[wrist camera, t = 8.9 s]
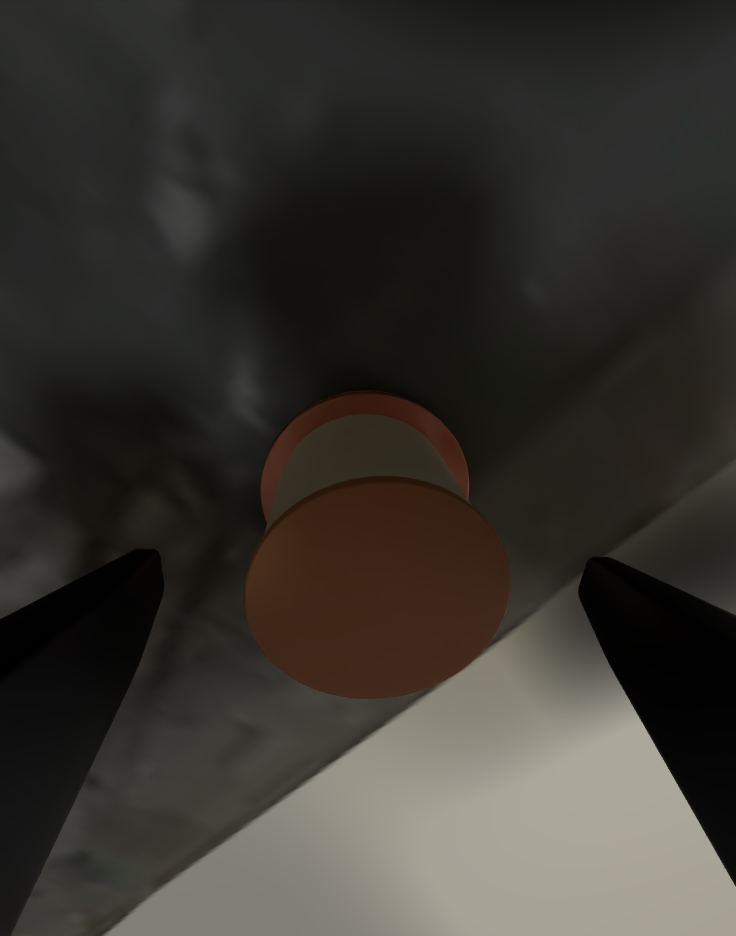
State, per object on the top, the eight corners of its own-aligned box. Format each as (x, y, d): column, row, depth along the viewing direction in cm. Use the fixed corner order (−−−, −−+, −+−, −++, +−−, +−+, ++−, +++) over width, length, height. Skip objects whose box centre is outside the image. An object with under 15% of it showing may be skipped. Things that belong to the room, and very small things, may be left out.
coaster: (450, 574, 14) (453, 584, 14) (265, 572, 14) (262, 582, 13) (480, 395, 12) (486, 399, 11) (259, 383, 11) (256, 387, 11)
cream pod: (439, 569, 13) (486, 698, 9) (276, 566, 13) (248, 701, 9) (463, 413, 12) (537, 486, 7) (274, 404, 11) (237, 476, 7)
